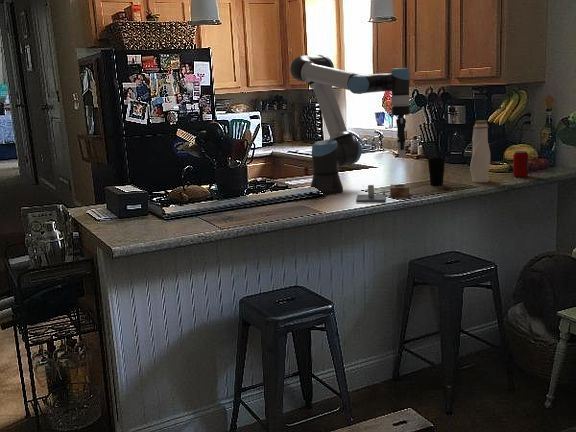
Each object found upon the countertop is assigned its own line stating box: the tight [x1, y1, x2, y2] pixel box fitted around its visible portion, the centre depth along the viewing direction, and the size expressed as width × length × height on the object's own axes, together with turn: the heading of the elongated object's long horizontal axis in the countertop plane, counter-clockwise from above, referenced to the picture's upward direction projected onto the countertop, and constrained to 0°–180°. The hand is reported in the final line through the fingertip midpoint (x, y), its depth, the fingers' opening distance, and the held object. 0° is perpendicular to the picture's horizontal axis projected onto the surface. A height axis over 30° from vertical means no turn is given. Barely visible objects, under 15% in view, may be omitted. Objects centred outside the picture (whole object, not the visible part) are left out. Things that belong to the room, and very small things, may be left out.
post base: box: [355, 184, 387, 203], centre depth 269 cm, size 12×12×6 cm
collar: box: [389, 183, 410, 198], centre depth 276 cm, size 8×8×4 cm
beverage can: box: [512, 150, 529, 178], centre depth 303 cm, size 7×7×12 cm
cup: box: [427, 157, 446, 187], centre depth 294 cm, size 8×8×12 cm
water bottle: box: [469, 119, 491, 183], centre depth 296 cm, size 10×9×28 cm
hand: (401, 155), depth 274 cm, fingers open, 13 cm apart
